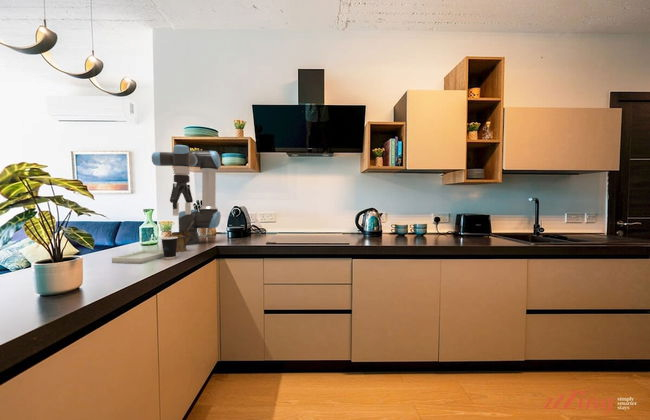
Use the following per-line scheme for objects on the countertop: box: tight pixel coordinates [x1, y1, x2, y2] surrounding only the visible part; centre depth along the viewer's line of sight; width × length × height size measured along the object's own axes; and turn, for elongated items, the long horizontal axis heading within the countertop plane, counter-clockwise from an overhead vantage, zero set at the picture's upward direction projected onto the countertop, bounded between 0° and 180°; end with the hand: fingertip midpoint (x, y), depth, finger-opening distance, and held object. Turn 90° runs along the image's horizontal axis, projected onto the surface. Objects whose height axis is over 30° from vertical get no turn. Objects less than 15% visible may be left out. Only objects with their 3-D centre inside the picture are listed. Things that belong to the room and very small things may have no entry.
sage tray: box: [111, 249, 165, 265], centre depth 143 cm, size 20×16×2 cm
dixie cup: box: [160, 236, 178, 260], centre depth 145 cm, size 8×8×11 cm
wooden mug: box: [170, 221, 194, 253], centre depth 165 cm, size 9×14×18 cm, turn 112°
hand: (182, 214), depth 149 cm, fingers open, 13 cm apart
